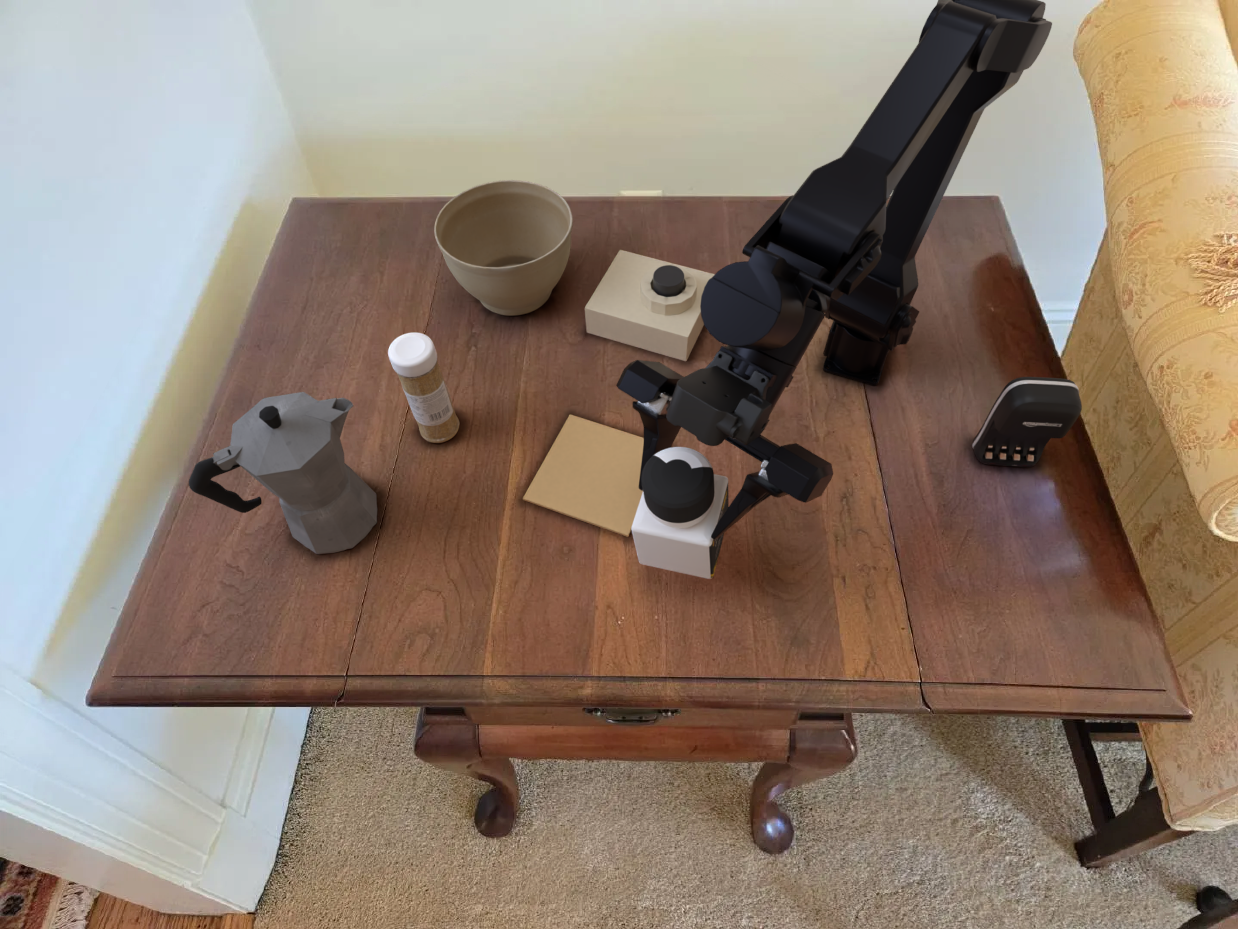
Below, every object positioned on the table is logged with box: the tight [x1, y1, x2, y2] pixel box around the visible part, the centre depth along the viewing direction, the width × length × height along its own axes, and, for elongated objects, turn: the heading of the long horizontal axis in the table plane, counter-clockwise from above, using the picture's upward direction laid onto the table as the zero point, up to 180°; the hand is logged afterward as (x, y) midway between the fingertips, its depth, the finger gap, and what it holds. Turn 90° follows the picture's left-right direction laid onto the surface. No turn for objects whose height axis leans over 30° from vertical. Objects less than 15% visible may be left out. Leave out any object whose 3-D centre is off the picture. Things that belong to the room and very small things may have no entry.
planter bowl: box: [433, 179, 574, 317], centre depth 95 cm, size 16×16×11 cm
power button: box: [653, 265, 684, 297], centre depth 91 cm, size 4×4×2 cm
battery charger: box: [971, 376, 1083, 468], centre depth 79 cm, size 7×4×11 cm, turn 84°
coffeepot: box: [188, 391, 378, 555], centre depth 74 cm, size 15×9×18 cm, turn 123°
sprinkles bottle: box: [387, 331, 460, 444], centre depth 82 cm, size 5×5×14 cm
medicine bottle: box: [631, 446, 729, 580], centre depth 69 cm, size 7×7×12 cm
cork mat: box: [522, 414, 644, 538], centre depth 83 cm, size 12×12×1 cm
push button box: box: [584, 249, 716, 362], centre depth 94 cm, size 13×11×6 cm
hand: (677, 513), depth 67 cm, fingers closed on medicine bottle, 7 cm apart
